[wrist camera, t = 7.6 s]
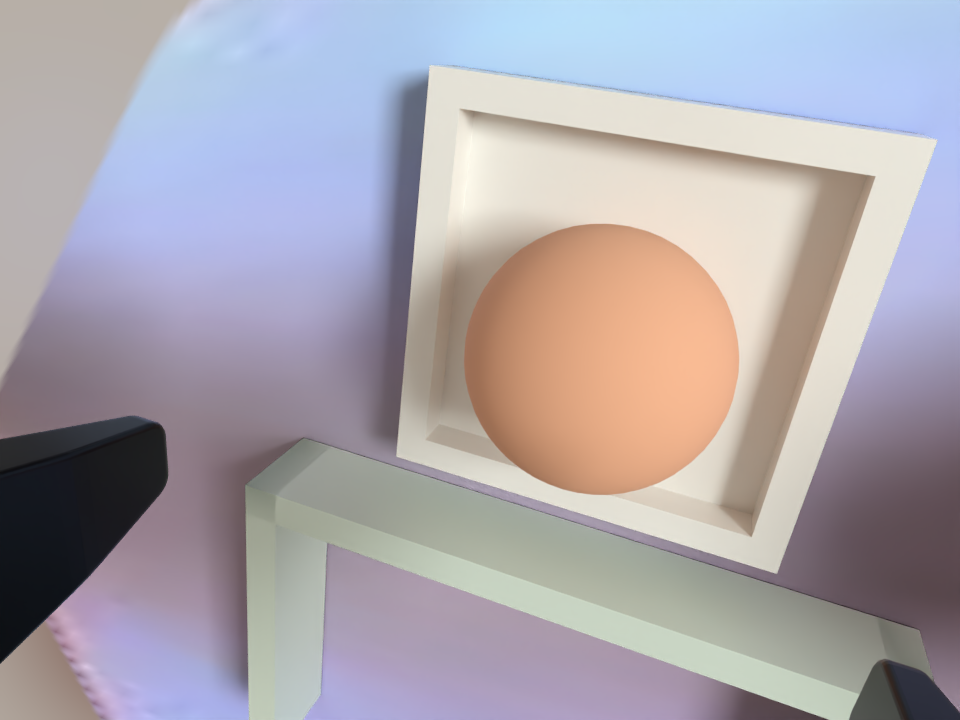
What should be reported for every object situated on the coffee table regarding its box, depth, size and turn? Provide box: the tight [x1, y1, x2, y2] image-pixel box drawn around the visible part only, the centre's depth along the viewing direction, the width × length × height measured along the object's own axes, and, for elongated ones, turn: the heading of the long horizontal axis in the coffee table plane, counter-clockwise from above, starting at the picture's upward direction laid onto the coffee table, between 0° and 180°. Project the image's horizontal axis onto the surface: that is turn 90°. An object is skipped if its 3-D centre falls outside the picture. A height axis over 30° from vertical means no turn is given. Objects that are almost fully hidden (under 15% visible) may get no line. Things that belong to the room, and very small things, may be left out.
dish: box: [396, 65, 938, 574], centre depth 17 cm, size 10×10×2 cm
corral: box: [245, 438, 935, 720], centre depth 22 cm, size 11×18×3 cm, turn 82°
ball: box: [464, 224, 739, 495], centre depth 15 cm, size 6×6×6 cm
